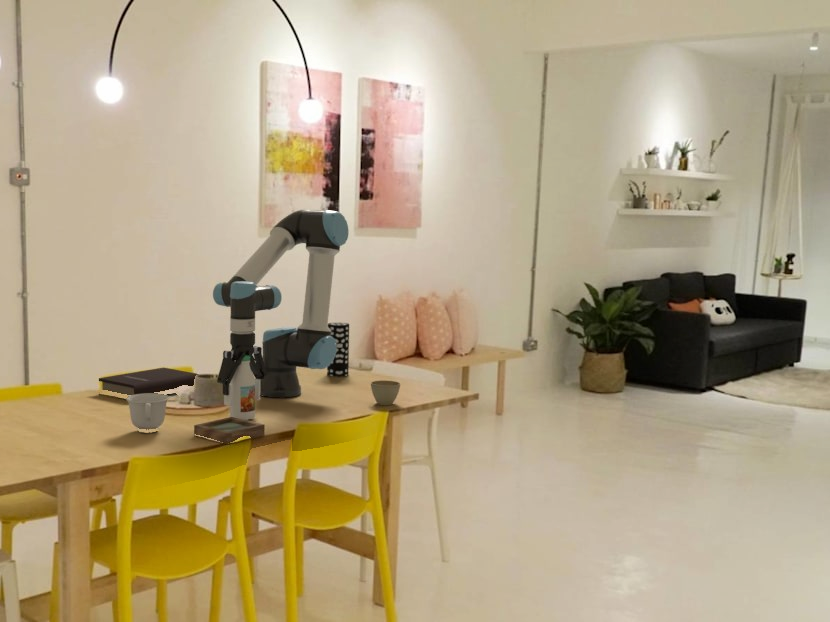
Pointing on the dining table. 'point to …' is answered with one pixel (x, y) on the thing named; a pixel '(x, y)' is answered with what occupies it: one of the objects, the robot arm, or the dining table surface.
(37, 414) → the dining table surface
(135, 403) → the teacup
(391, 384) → the bowl
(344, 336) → the white-spotted black cylinder
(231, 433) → the brown wooden square tray
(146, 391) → the book
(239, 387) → the milk bottle
